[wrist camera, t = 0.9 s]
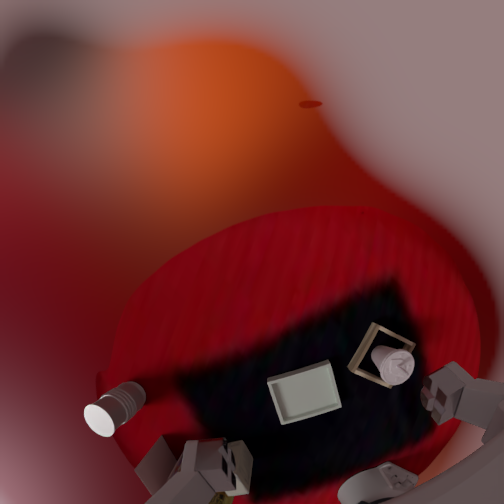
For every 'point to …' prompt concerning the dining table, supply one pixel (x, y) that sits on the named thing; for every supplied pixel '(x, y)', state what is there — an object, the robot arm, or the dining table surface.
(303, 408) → the tray
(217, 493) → the sauce bottle
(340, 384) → the dining table surface
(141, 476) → the greeting card
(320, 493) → the dining table surface
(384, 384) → the frame
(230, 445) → the skincare box
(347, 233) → the dining table surface
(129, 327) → the dining table surface
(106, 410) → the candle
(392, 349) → the smoothie
